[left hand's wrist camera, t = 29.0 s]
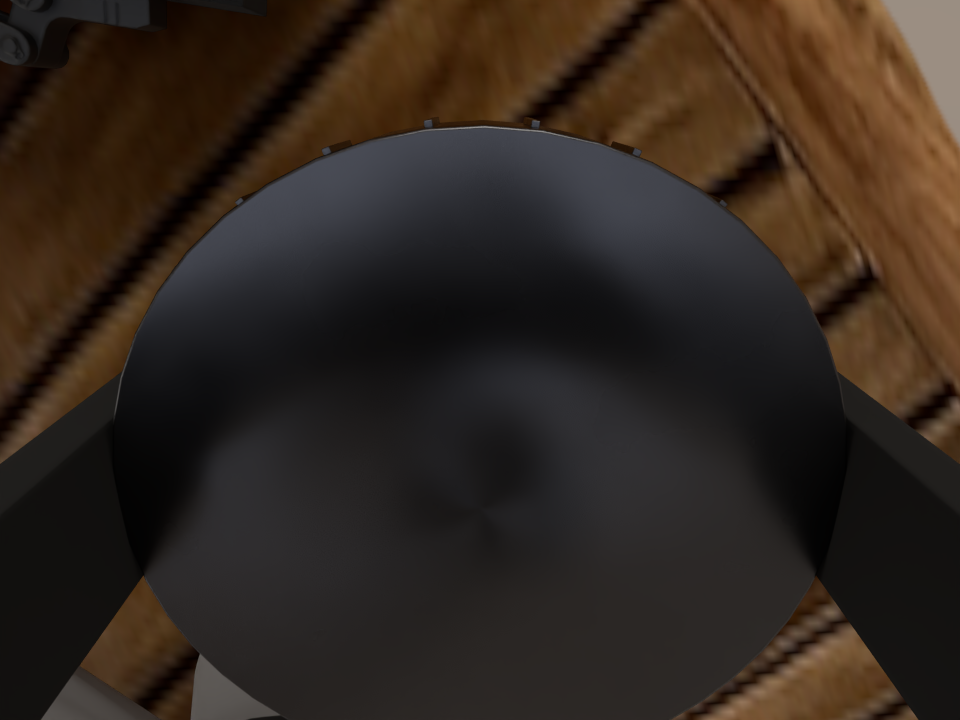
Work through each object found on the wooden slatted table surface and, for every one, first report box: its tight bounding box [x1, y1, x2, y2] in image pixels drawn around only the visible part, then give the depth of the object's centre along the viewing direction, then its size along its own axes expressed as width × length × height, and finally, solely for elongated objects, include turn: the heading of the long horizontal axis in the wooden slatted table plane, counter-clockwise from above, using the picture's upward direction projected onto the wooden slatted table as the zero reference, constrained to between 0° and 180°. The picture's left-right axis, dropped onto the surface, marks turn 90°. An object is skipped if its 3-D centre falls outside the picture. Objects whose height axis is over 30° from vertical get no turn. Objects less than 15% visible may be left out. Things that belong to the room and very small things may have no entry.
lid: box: [113, 117, 847, 720], centre depth 11 cm, size 11×11×2 cm
